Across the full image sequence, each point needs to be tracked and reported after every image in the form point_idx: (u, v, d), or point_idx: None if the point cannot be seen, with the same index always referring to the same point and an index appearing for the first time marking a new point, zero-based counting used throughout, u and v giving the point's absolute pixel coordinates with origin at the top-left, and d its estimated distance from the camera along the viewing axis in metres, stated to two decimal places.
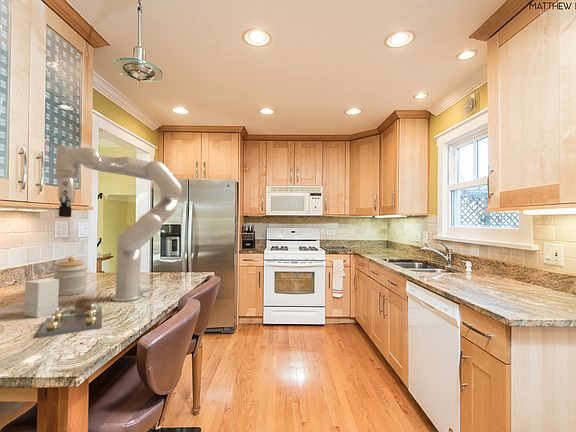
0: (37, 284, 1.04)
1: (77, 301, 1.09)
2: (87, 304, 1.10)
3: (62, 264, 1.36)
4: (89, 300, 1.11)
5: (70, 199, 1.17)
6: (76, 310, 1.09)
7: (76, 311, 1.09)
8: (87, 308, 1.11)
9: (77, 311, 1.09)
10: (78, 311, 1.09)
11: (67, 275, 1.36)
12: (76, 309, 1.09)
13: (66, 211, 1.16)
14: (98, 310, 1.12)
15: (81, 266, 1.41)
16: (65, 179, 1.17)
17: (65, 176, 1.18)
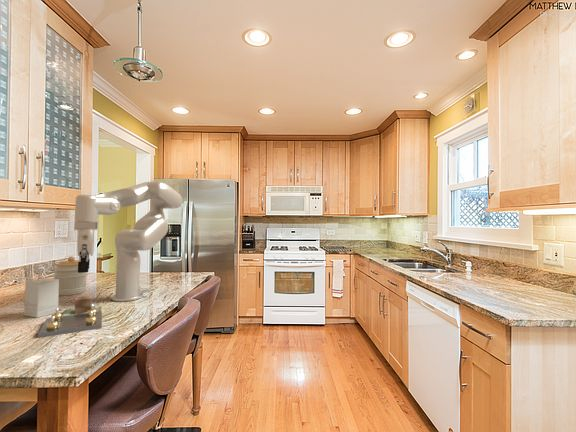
0: (37, 284, 1.04)
1: (77, 301, 1.09)
2: (87, 304, 1.10)
3: (62, 264, 1.36)
4: (89, 300, 1.11)
5: (90, 253, 1.09)
6: (76, 310, 1.09)
7: (76, 311, 1.09)
8: (87, 308, 1.10)
9: (77, 311, 1.09)
10: (78, 311, 1.09)
11: (67, 275, 1.36)
12: (76, 309, 1.09)
13: (85, 266, 1.08)
14: (98, 310, 1.12)
15: None
16: (85, 231, 1.09)
17: (85, 228, 1.09)
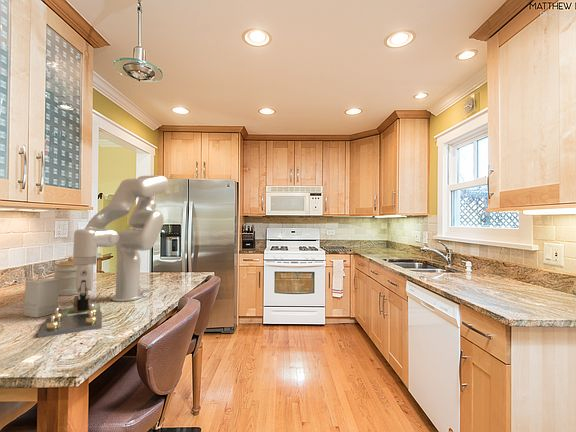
0: (37, 284, 1.04)
1: (76, 300, 1.09)
2: None
3: (62, 264, 1.36)
4: (88, 299, 1.11)
5: (89, 289, 1.09)
6: (75, 309, 1.08)
7: (75, 310, 1.08)
8: None
9: (76, 310, 1.09)
10: (77, 310, 1.09)
11: (67, 275, 1.36)
12: (75, 308, 1.08)
13: (85, 304, 1.09)
14: (97, 309, 1.12)
15: None
16: (84, 267, 1.08)
17: (83, 264, 1.09)
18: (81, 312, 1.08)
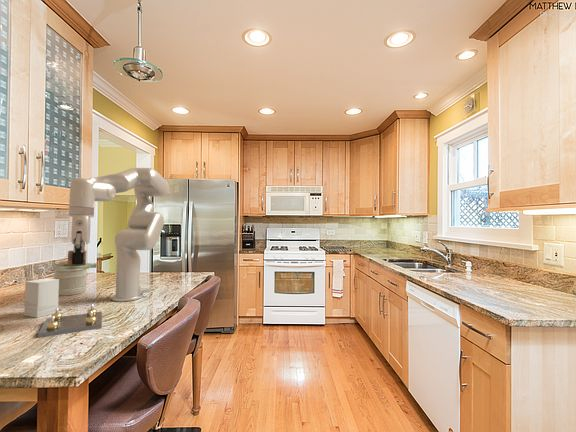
0: (37, 284, 1.04)
1: (70, 253, 1.00)
2: None
3: None
4: None
5: (85, 241, 1.01)
6: (69, 263, 1.00)
7: (69, 264, 1.00)
8: None
9: (70, 264, 1.00)
10: (71, 264, 1.00)
11: (67, 275, 1.36)
12: (69, 261, 1.00)
13: (80, 258, 1.01)
14: (93, 265, 1.03)
15: None
16: (80, 217, 1.01)
17: (80, 214, 1.01)
18: (76, 266, 1.00)
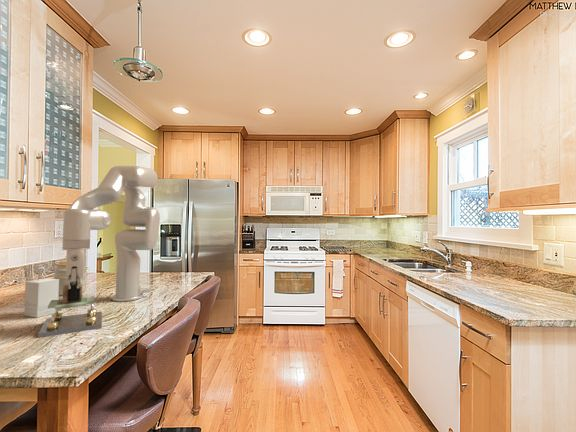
0: (37, 284, 1.04)
1: (65, 289, 0.94)
2: None
3: (62, 264, 1.36)
4: None
5: (81, 276, 0.95)
6: (64, 300, 0.94)
7: (64, 301, 0.94)
8: None
9: (65, 301, 0.94)
10: (66, 301, 0.94)
11: None
12: (64, 299, 0.94)
13: (76, 294, 0.95)
14: (90, 300, 0.98)
15: None
16: (75, 252, 0.94)
17: (75, 247, 0.95)
18: (71, 303, 0.94)
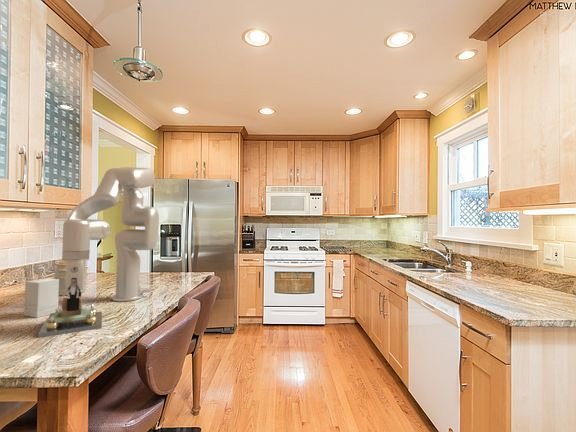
0: (37, 284, 1.04)
1: (65, 303, 0.94)
2: None
3: (62, 264, 1.36)
4: (79, 302, 0.96)
5: (80, 287, 0.95)
6: (63, 313, 0.94)
7: (63, 314, 0.94)
8: (76, 311, 0.96)
9: (64, 314, 0.94)
10: (66, 314, 0.94)
11: None
12: (63, 312, 0.94)
13: (76, 304, 0.93)
14: (89, 313, 0.98)
15: None
16: (74, 263, 0.94)
17: (74, 259, 0.95)
18: (71, 316, 0.94)
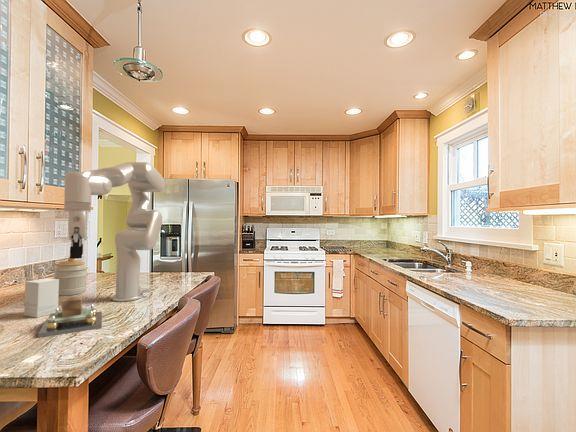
0: (37, 284, 1.04)
1: (65, 303, 0.94)
2: (76, 306, 0.96)
3: (62, 264, 1.36)
4: (79, 302, 0.96)
5: (83, 237, 0.98)
6: (63, 313, 0.94)
7: (63, 314, 0.94)
8: (76, 311, 0.96)
9: (64, 314, 0.94)
10: (66, 314, 0.94)
11: (67, 275, 1.36)
12: (63, 312, 0.94)
13: (78, 252, 0.97)
14: (89, 313, 0.98)
15: (81, 266, 1.41)
16: (76, 213, 0.97)
17: (76, 209, 0.98)
18: (71, 316, 0.94)
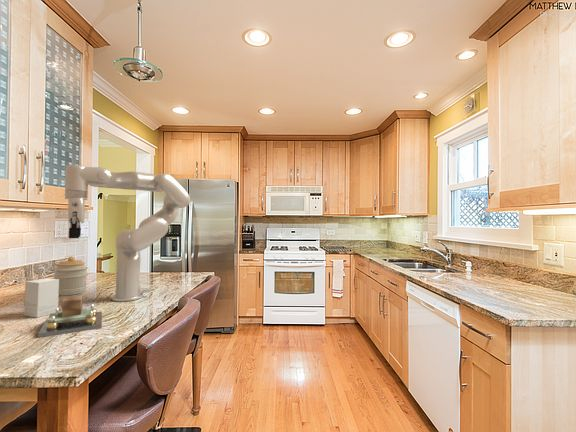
0: (37, 284, 1.04)
1: (65, 303, 0.94)
2: (76, 306, 0.96)
3: (62, 264, 1.36)
4: (79, 302, 0.96)
5: (80, 220, 1.14)
6: (63, 313, 0.94)
7: (63, 314, 0.94)
8: (76, 311, 0.96)
9: (64, 314, 0.94)
10: (66, 314, 0.94)
11: (67, 275, 1.36)
12: (63, 312, 0.94)
13: (76, 232, 1.13)
14: (89, 313, 0.98)
15: (81, 266, 1.41)
16: (75, 199, 1.14)
17: (75, 196, 1.14)
18: (71, 316, 0.94)
